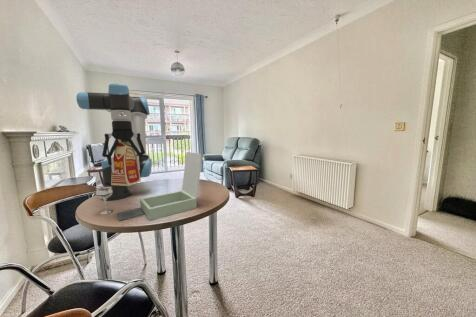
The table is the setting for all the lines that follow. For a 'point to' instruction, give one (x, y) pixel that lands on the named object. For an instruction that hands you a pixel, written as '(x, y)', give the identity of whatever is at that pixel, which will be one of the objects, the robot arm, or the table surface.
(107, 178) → the robot arm
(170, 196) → the green shallow open box
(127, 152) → the milk carton
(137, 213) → the mat
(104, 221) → the table surface
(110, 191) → the wineglass
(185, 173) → the lid
